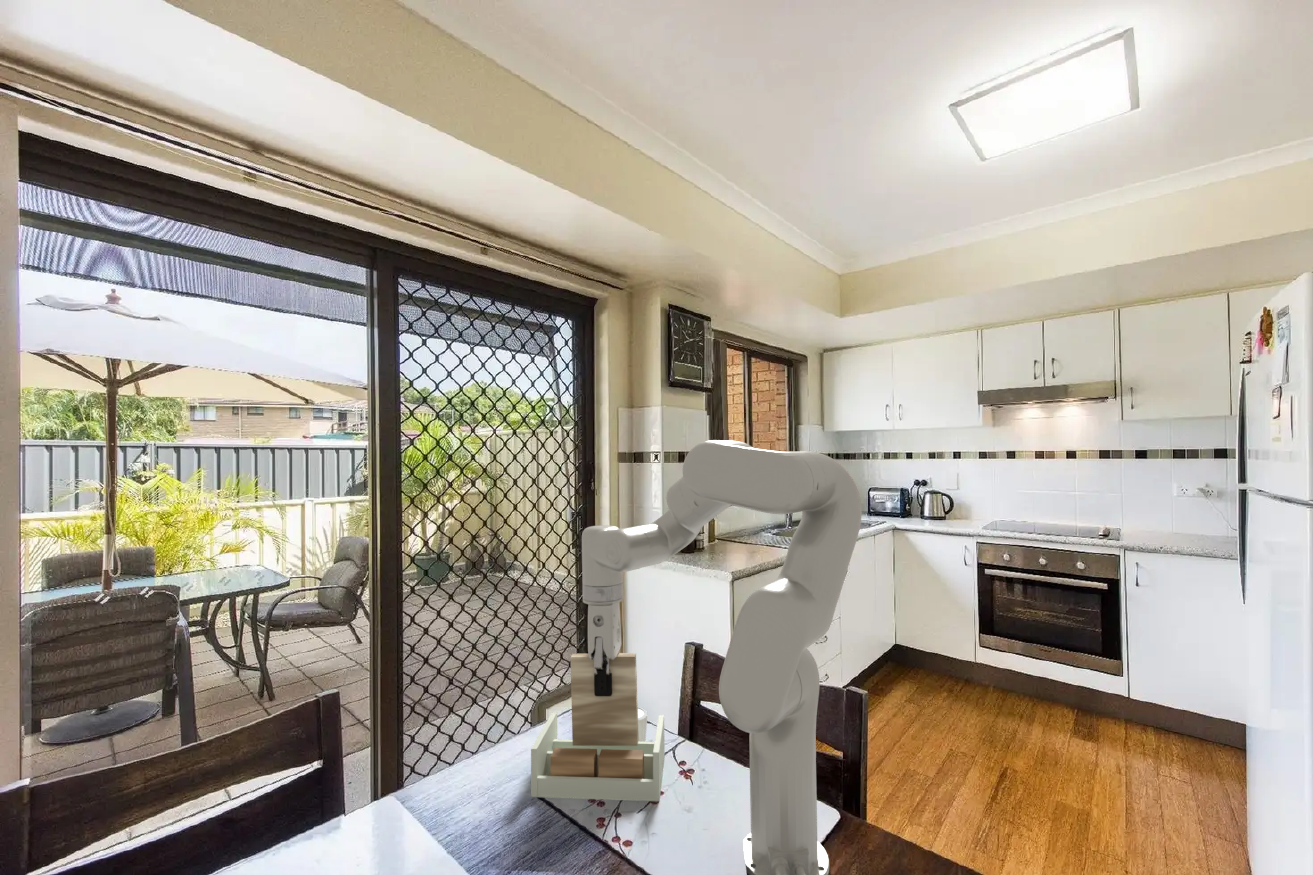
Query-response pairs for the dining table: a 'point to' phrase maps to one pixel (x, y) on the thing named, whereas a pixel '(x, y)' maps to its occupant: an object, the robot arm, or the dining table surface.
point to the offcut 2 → (621, 764)
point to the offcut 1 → (574, 762)
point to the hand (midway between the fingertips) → (604, 691)
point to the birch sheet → (604, 703)
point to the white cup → (642, 724)
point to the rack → (597, 786)
